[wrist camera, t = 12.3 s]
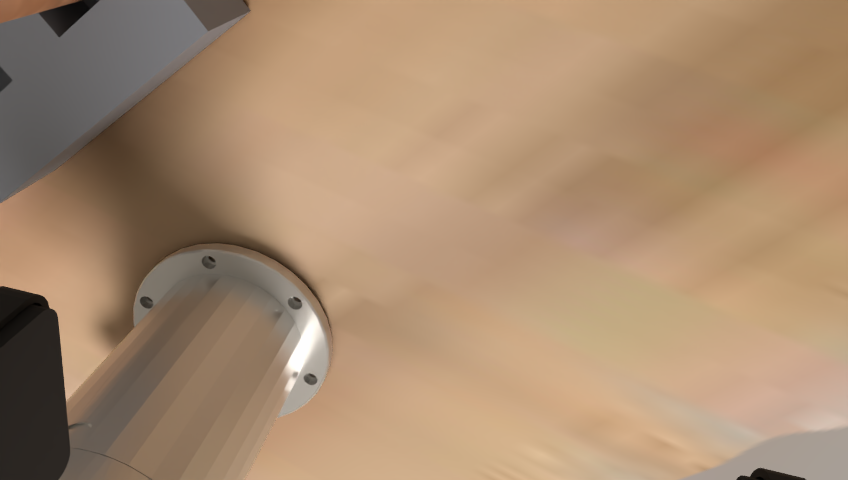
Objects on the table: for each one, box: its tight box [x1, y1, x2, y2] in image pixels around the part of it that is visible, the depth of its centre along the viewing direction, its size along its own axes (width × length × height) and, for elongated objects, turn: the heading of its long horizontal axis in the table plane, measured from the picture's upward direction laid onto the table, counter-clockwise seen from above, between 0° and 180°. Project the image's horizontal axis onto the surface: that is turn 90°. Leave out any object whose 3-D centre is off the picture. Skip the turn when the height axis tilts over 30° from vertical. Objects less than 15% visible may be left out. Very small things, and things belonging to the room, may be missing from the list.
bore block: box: [0, 0, 250, 203], centre depth 36 cm, size 16×12×5 cm
